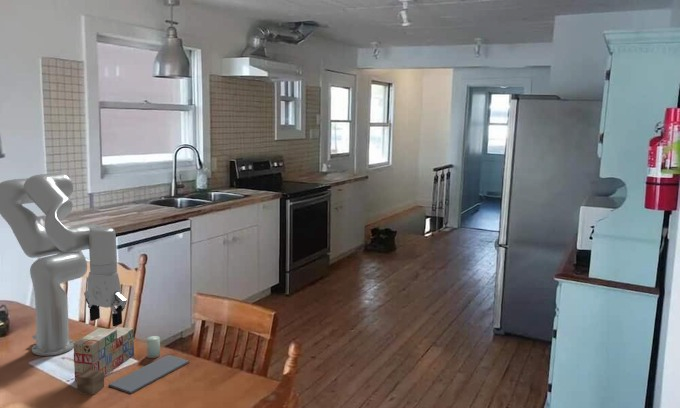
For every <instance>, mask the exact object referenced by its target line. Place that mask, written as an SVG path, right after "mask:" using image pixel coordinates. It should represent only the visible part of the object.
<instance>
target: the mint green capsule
mask: <svg viewBox="0 0 680 408" xmlns="http://www.w3.org/2000/svg"><path fill="white" fill-rule="evenodd" d="M160 340H161V338H160V336H158V335H152V336H148V337H147V338H146V354H147V355H146V356H147V358H148V359H156V358H159V357H160V356H161V341H160Z"/></svg>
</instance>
